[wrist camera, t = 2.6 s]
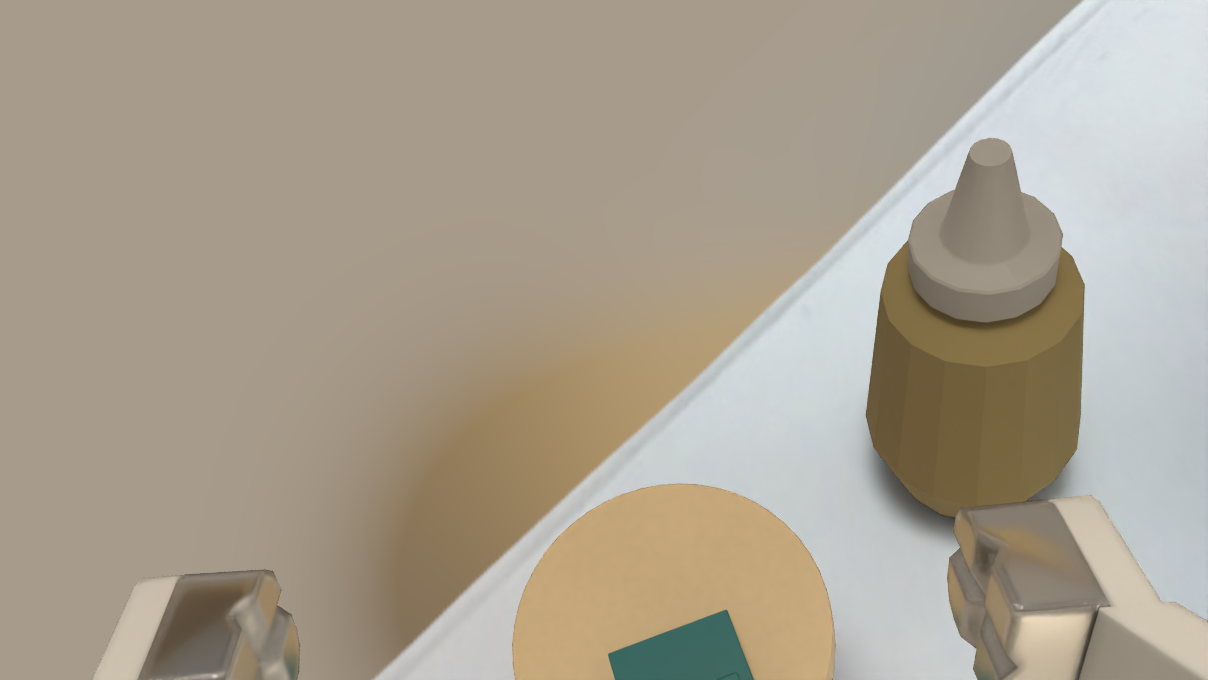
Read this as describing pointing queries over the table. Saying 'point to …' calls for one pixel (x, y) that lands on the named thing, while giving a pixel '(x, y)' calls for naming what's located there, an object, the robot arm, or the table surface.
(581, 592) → the cup lid
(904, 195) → the table surface
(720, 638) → the teal l-shaped bracket
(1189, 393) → the table surface
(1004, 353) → the squeeze bottle
